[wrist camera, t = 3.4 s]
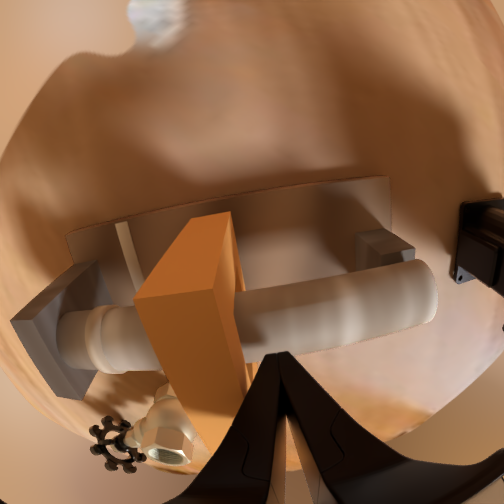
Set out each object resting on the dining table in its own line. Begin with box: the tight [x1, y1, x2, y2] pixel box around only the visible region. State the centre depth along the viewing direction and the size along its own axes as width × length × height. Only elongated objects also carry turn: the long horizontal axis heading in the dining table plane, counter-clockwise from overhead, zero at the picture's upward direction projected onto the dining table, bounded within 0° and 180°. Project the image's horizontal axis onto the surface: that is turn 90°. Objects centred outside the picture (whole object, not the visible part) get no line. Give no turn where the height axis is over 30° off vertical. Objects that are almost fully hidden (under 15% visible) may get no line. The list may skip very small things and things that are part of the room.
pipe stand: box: [10, 175, 438, 400], centre depth 13 cm, size 20×9×8 cm, turn 99°
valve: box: [89, 382, 197, 474], centre depth 19 cm, size 7×7×12 cm
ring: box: [133, 211, 258, 456], centre depth 11 cm, size 2×8×8 cm, turn 10°
